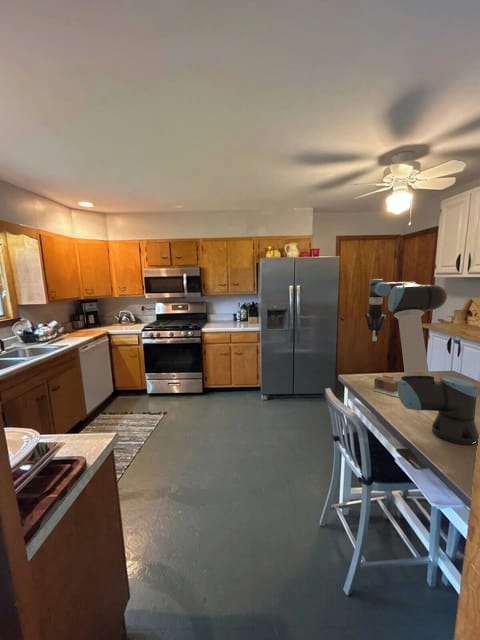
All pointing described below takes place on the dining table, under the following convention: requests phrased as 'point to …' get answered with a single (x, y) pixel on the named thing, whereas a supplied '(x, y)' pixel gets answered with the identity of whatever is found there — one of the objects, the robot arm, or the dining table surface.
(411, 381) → the robot arm
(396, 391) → the mat
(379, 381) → the wooden block
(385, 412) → the dining table surface
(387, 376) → the oak cube
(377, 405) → the dining table surface
